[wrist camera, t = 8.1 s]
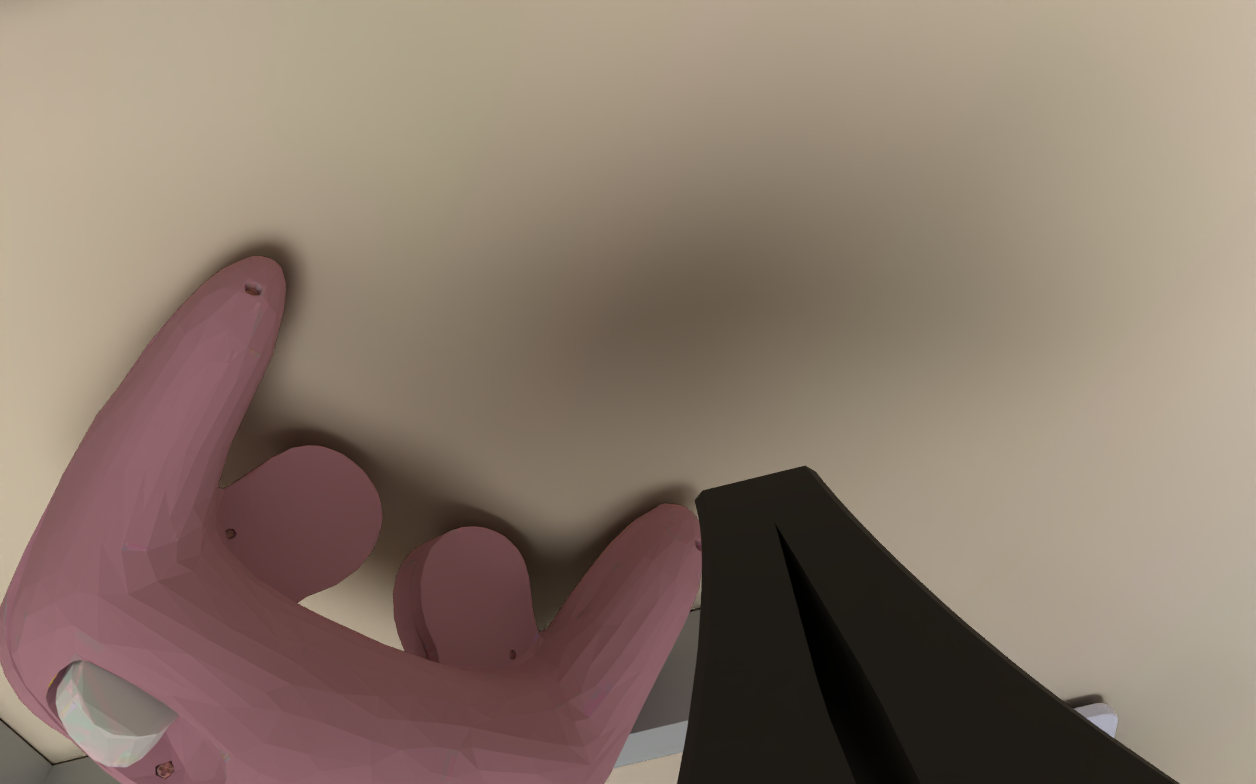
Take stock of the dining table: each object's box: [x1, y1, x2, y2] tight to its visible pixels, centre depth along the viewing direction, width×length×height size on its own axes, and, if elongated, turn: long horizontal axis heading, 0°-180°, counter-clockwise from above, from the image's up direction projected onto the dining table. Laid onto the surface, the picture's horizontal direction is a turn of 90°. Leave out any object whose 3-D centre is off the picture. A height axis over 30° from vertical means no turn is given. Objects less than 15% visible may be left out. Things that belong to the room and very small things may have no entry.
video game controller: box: [0, 256, 702, 784], centre depth 13 cm, size 10×5×7 cm, turn 48°
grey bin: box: [0, 610, 700, 784], centre depth 13 cm, size 16×16×2 cm
